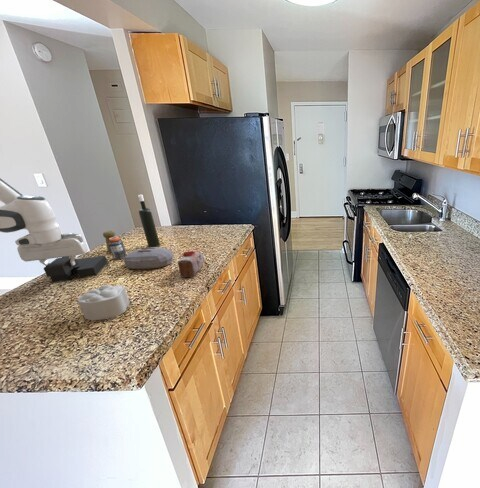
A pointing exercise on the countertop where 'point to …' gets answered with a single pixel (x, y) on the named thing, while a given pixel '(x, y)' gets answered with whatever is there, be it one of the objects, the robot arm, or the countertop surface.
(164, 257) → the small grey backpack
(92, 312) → the lumpy-topped squat cylinder
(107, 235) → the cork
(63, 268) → the pad
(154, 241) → the wine bottle
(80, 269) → the base pad
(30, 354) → the countertop surface
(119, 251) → the pill bottle
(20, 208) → the robot arm
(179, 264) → the food item
